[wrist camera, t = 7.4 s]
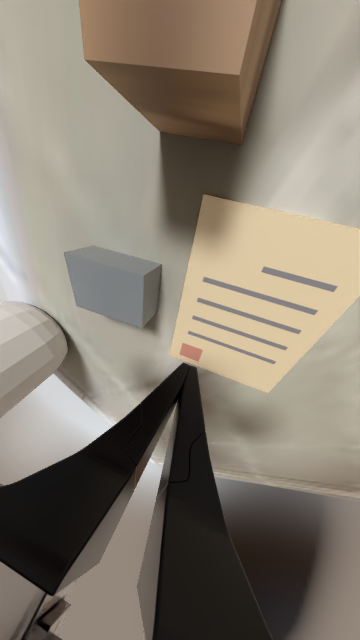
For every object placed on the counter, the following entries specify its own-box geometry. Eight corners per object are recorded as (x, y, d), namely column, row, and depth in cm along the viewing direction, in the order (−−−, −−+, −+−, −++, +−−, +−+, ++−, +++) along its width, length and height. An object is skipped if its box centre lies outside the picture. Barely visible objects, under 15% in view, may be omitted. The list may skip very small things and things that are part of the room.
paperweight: (162, 263, 15) (143, 275, 12) (158, 310, 18) (142, 328, 15) (95, 245, 16) (63, 252, 13) (101, 292, 19) (76, 306, 16)
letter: (410, 240, 9) (412, 240, 9) (267, 392, 19) (267, 393, 18) (203, 194, 11) (203, 194, 11) (169, 354, 20) (169, 355, 20)
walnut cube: (292, -39, 6) (446, -809, 2) (241, 145, 9) (239, 75, 4) (172, -38, 7) (24, -560, 2) (160, 132, 10) (84, 60, 5)
